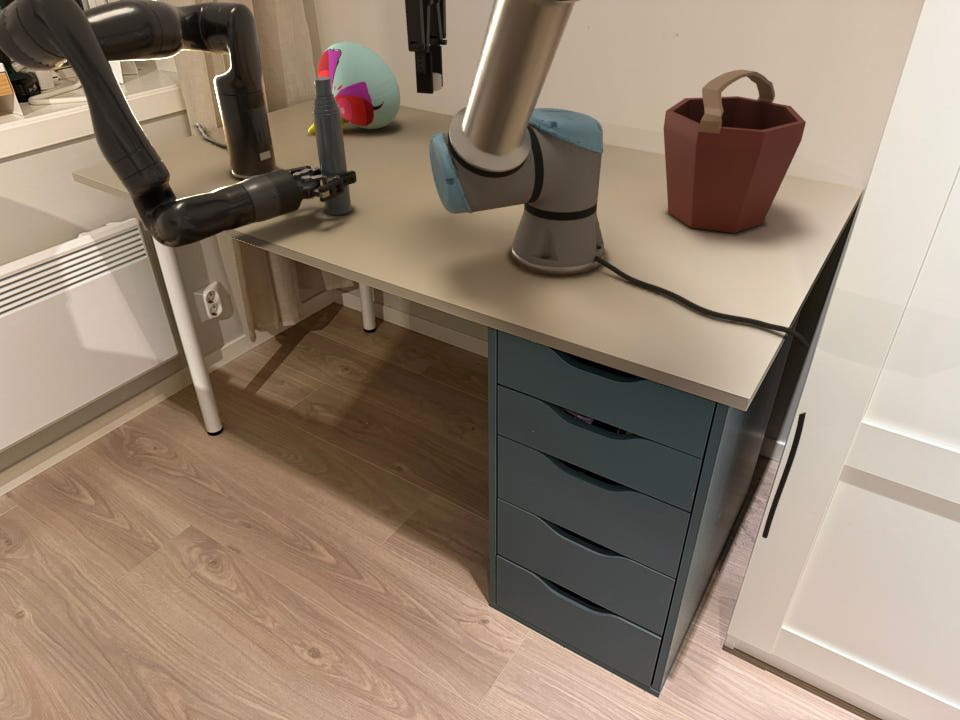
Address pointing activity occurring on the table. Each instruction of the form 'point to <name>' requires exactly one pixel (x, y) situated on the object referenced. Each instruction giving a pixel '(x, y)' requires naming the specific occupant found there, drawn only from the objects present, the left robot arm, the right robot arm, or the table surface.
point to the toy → (360, 85)
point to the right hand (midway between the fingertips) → (430, 89)
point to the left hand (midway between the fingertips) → (345, 172)
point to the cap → (437, 82)
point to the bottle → (330, 142)
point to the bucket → (728, 154)
